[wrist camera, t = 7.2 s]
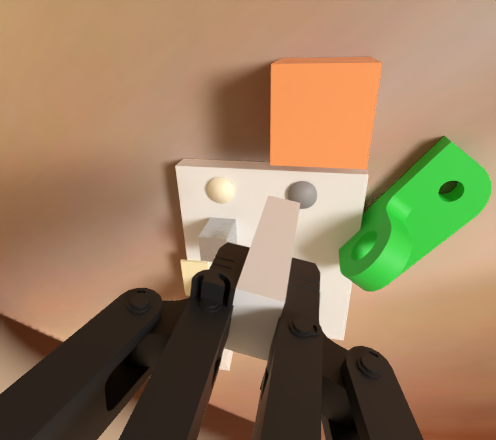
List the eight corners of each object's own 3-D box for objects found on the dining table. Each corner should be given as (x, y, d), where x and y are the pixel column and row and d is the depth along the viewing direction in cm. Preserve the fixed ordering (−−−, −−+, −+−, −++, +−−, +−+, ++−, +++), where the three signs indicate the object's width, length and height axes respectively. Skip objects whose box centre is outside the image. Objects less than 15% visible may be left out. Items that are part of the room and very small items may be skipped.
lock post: (210, 217, 31) (198, 236, 28) (236, 219, 31) (226, 239, 28) (212, 239, 32) (200, 260, 29) (236, 241, 32) (227, 263, 29)
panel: (177, 158, 31) (167, 166, 29) (365, 166, 28) (369, 175, 26) (195, 307, 40) (189, 322, 38) (342, 326, 37) (343, 342, 35)
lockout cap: (281, 58, 26) (271, 63, 21) (370, 57, 25) (382, 62, 20) (279, 141, 29) (270, 165, 24) (358, 144, 28) (366, 169, 23)
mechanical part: (385, 270, 33) (401, 332, 26) (337, 235, 32) (341, 290, 26) (498, 179, 27) (557, 229, 20) (442, 134, 27) (484, 170, 20)
